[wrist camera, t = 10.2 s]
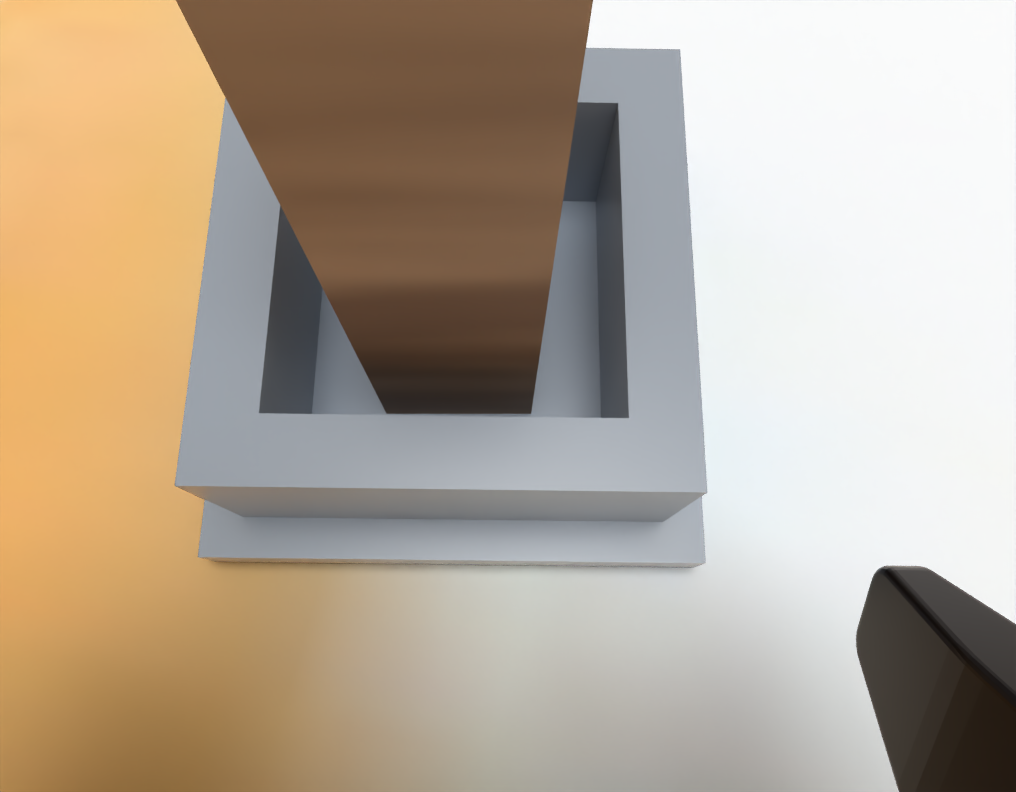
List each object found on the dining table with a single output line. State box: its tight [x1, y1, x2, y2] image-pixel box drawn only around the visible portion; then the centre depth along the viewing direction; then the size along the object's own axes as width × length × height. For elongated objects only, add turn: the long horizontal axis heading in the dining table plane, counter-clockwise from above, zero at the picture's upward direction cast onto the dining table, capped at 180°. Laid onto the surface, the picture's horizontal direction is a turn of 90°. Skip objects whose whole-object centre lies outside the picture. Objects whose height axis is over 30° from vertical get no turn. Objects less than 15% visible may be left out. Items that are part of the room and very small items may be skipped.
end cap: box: [175, 48, 707, 567], centre depth 16 cm, size 10×10×4 cm
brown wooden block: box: [176, 0, 593, 414], centre depth 11 cm, size 4×3×13 cm
